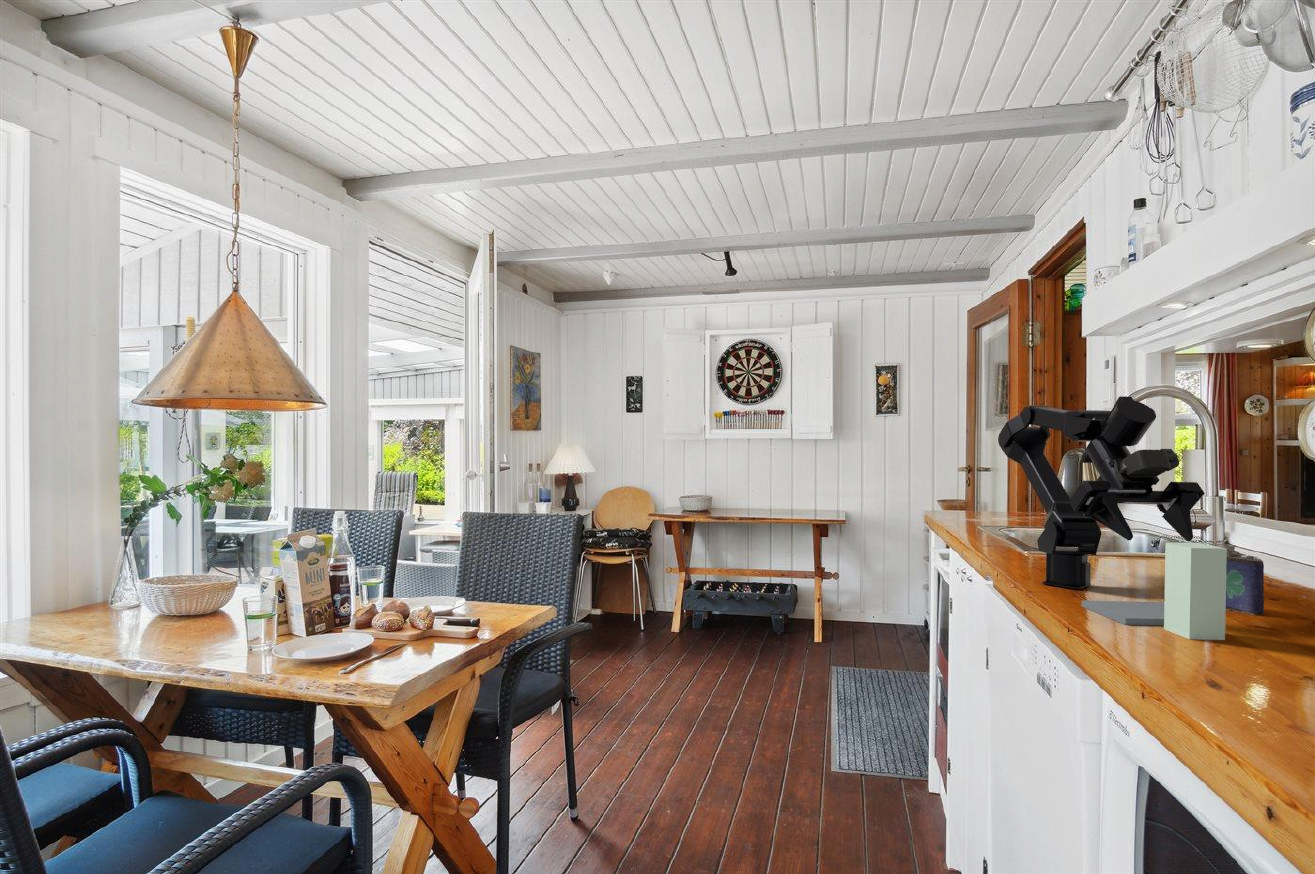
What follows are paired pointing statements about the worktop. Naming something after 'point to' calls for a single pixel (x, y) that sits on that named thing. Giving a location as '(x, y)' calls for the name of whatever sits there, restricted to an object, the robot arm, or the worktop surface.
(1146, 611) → the slate mat
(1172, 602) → the sage block
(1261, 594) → the clover slab
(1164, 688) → the worktop surface
